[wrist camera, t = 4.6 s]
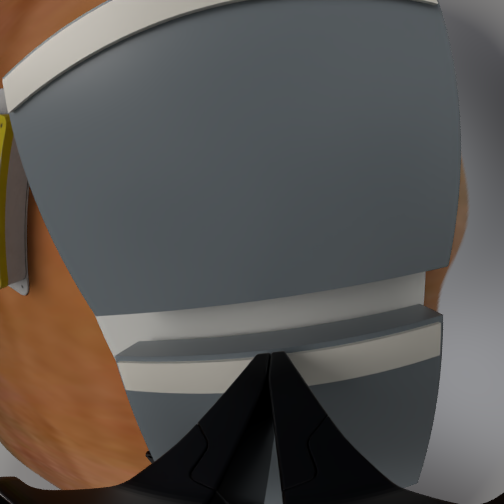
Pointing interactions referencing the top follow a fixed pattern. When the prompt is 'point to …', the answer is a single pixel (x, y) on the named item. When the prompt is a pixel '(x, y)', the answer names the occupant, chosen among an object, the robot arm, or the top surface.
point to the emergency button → (12, 208)
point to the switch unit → (264, 313)
